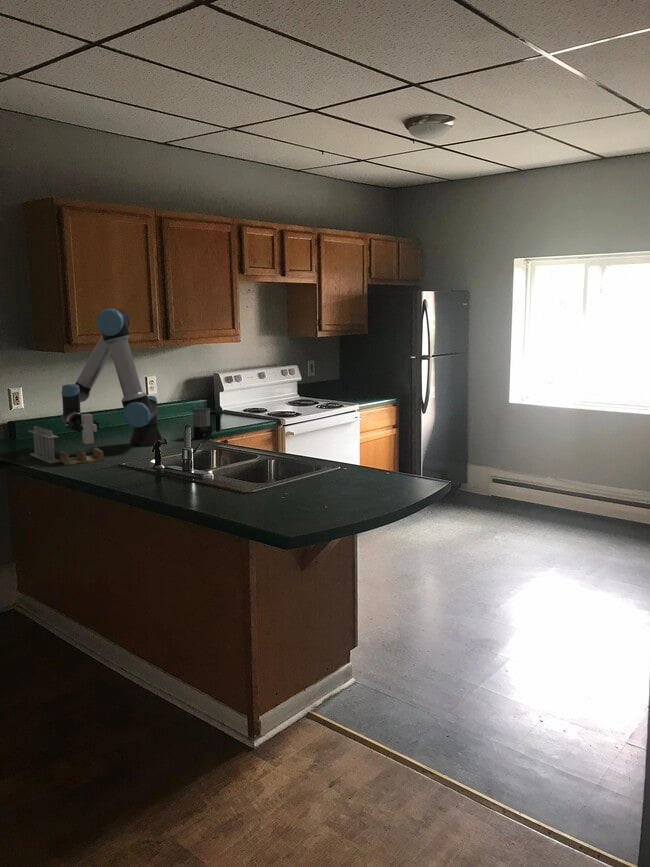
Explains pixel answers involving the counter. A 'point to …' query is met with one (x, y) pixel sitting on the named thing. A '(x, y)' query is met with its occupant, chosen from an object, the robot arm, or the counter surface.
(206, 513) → the counter surface
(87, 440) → the grey upright block
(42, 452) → the test tube rack
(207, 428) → the milk frother
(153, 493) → the counter surface
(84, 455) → the oak rack
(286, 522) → the counter surface
